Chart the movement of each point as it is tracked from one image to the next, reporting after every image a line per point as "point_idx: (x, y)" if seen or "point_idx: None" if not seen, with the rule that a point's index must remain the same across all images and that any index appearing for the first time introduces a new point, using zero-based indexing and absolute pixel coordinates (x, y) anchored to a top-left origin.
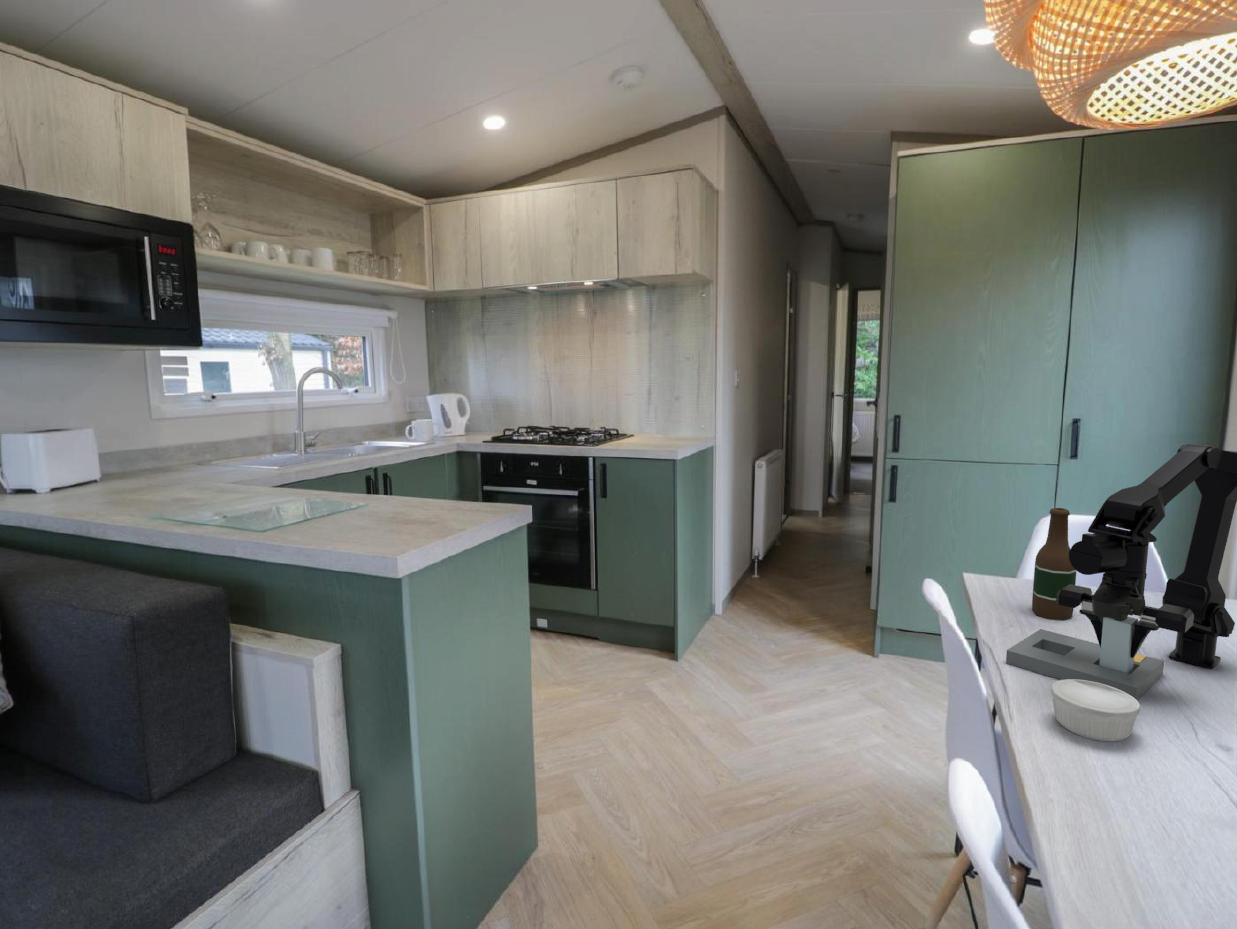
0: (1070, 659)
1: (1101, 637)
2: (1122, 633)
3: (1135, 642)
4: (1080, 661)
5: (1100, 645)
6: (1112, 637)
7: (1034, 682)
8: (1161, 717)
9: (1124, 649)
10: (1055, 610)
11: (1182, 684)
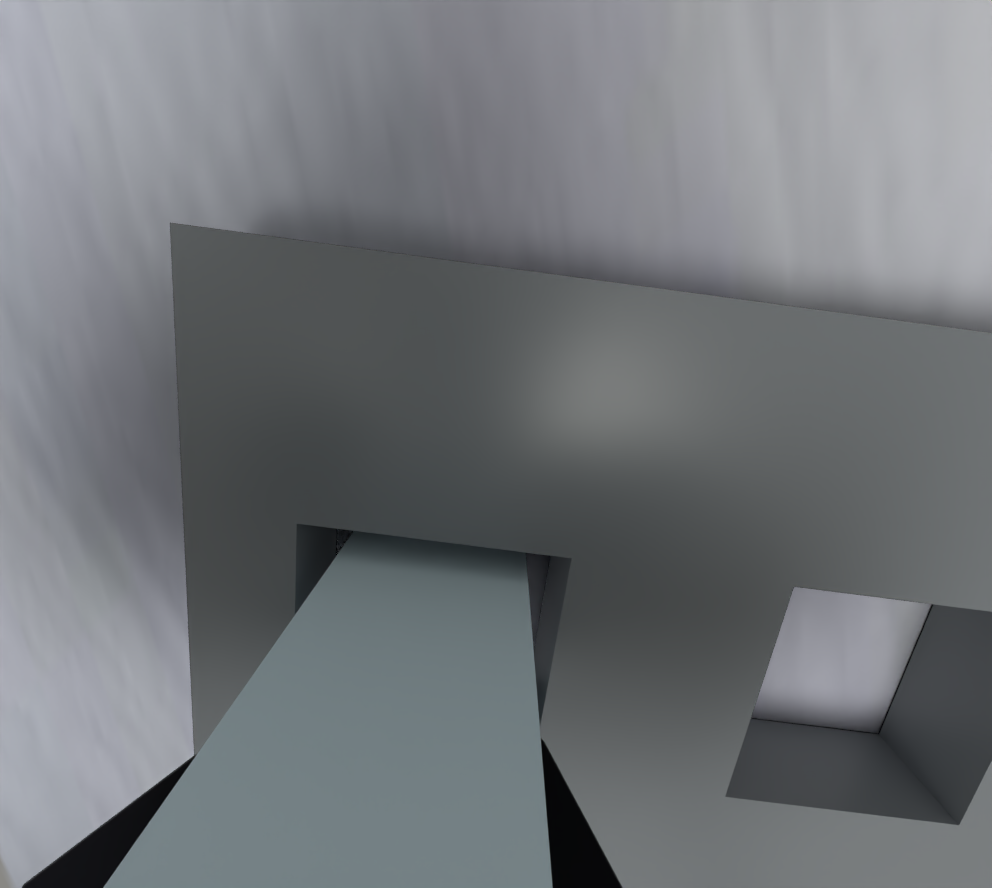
0: (742, 534)
1: (558, 877)
2: None
3: (91, 886)
4: (664, 541)
5: (552, 773)
6: (391, 878)
7: (923, 89)
8: (48, 77)
9: (271, 714)
10: None
11: (141, 729)
